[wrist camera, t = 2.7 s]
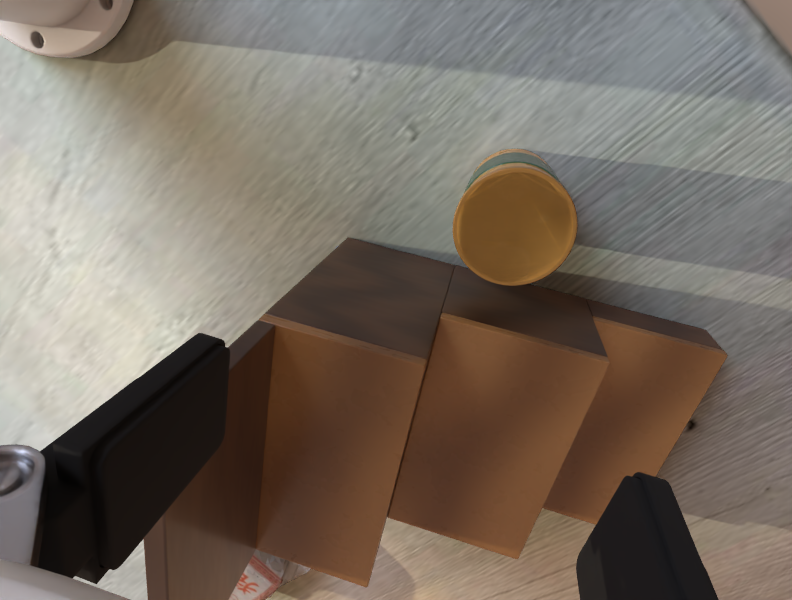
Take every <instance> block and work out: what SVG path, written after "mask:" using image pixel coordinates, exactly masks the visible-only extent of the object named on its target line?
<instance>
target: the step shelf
mask: <svg viewBox="0 0 792 600" xmlns="http://www.w3.org/2000/svg"><path fill="white" fill-rule="evenodd" d="M228 348H229V350H230V365H229V380H228V396H227V412H226V428H225V436H224V439H223V441H222V443H221V445H220V447H219V448H218V449H217V451H216V452H215V453H214V454H213V455H212V457H211V458H210V459H209V460H208V461H207V463H206V464H205V465H204V466H203V467H202V469H201V470H200V471H199V472H198V473H197V475H196V476H195V477H194V478H193V479H192V481H191V482H190V483H189V484H188V486H187V487H186V488H185V489H184V490H183V492H182V493H181V494H180V495H179V496H178V498H177V499H176V500H175V501H174V502H173V504H172V505H171V506H170V507H169V508H168V510H167V511H166V512H165V513H164V514H163V516H162V517H161V518H160V519H159V520H158V522H157V523H156V524H155V525H154V526H153V528H152V529H151V530H150V531H149V532H148V534H147V535H146V536H145V537H144V550H145V565H146V579H147V593H148V600H229V598H230V596H231V594H232V592H233V591H234V589H235V587H236V585H237V583H238V582H239V580H240V578H241V576H242V574H243V572H244V571H245V569H246V567H247V565H248V563H249V561H250V560H251V558H252V556H253V554H254V552H255V550H259V551H262V552H265V553H268V554H271V555H273V556H276V557H279V558H282V559H285V560H288V561H291V562H294V563H297V564H300V565H303V566H305V567H308V568H311V569H314V570H317V571H320V572H323V573H326V574H329V575H332V576H335V577H338V578H340V579H343V580H346V581H349V582H352V583H355V584H358V585H361V586H364V587H367V586H368V584H369V580H370V576H371V573H372V569H373V566H374V562H375V558H376V555H377V551H378V548H379V544H380V541H381V537H382V533H383V530H384V526H385V523H386V519H387V516H388V518H391V519H394V520H397V521H401V522H404V523H407V524H410V525H413V526H416V527H419V528H422V529H425V530H428V531H431V532H434V533H438V534H441V535H444V536H447V537H450V538H453V539H456V540H459V541H462V542H465V543H468V544H471V545H475V546H478V547H481V548H484V549H487V550H490V551H493V552H496V553H499V554H502V555H505V556H508V557H512V558H515V559H518V558H519V556H520V554H521V551H522V549H523V547H524V545H525V543H526V541H527V539H528V537H529V534H530V532H531V530H532V528H533V526H534V524H535V522H536V520H537V517H538V515H539V513H540V511H541V509H542V508H544V509H547V510H551V511H554V512H557V513H560V514H564V515H567V516H570V517H573V518H576V519H580V520H583V521H586V522H589V523H593V524H597V523H598V521H599V519H600V517H601V516H602V514H603V512H604V511H605V509H606V507H607V505H608V504H609V502H610V500H611V499H612V497H613V495H614V493H615V492H616V490H617V488H618V487H619V485H620V483H621V481H622V480H623V478H624V477H625V476H633V475H634V474H635V473H636V472H641V473H645V474H648V475H651V476H654V477H655V476H656V475H657V473H658V471H659V470H660V468H661V466H662V465H663V463H664V461H665V460H666V458H667V456H668V455H669V453H670V451H671V450H672V448H673V446H674V445H675V443H676V441H677V440H678V438H679V436H680V435H681V433H682V431H683V430H684V428H685V426H686V425H687V423H688V421H689V420H690V418H691V416H692V415H693V413H694V411H695V410H696V408H697V406H698V405H699V403H700V401H701V400H702V398H703V396H704V395H705V393H706V391H707V390H708V388H709V386H710V385H711V383H712V381H713V380H714V378H715V376H716V375H717V373H718V371H719V369H720V368H721V366H722V364H723V363H724V361H725V359H726V358H727V356H728V355H727V354H726V353H725V351H724V350H722V348H721V347H720V346H719V345H718V344H717V342H716V341H715V340H714V339H713V338H712V337H711V335H710V334H709V333H708V332H707V331H706V330H704V329H700V328H696V327H693V326H689V325H685V324H681V323H677V322H673V321H669V320H665V319H662V318H658V317H654V316H650V315H646V314H642V313H638V312H634V311H631V310H627V309H623V308H619V307H615V306H611V305H607V304H603V303H599V302H596V301H592V300H588V299H585V298H581V297H577V296H573V295H569V294H565V293H561V292H558V291H554V290H550V289H546V288H542V287H538V286H534V285H530V284H525V285H516V286H509V285H501V284H496V283H493V282H490V281H487V280H485V279H483V278H481V277H480V276H478V275H476V274H475V273H474V272H473V271H472V270H470V269H468V268H464V267H460V266H457V265H452V264H449V263H445V262H441V261H437V260H433V259H429V258H425V257H421V256H417V255H414V254H410V253H406V252H402V251H398V250H394V249H390V248H386V247H383V246H379V245H375V244H371V243H367V242H363V241H359V240H355V239H351V238H347V239H346V240H345V241H344V242H342V243H341V244H340V245H339V246H338V247H337V248H336V249H335V250H334V251H333V252H332V253H330V254H329V255H328V256H327V257H326V258H325V259H324V260H323V261H322V262H321V263H319V264H318V265H317V266H316V267H315V268H314V269H313V270H312V271H311V272H310V273H309V274H307V275H306V276H305V277H304V278H303V279H302V280H301V281H300V282H299V283H298V284H297V285H295V286H294V287H293V288H292V289H291V290H290V291H289V292H288V293H287V294H286V295H284V296H283V297H282V298H281V299H280V300H279V301H278V302H277V303H276V304H275V305H274V306H272V307H271V308H270V309H269V310H268V311H267V312H266V313H265V314H264V315H263V316H262V317H261V318H259V320H258V321H256V322H255V323H254V324H253V325H252V326H251V327H250V328H249V329H248V330H247V331H245V332H244V333H243V334H242V335H241V336H240V337H239V338H238V339H237V340H236V341H235V342H233V343H232V344H231V345H230V346H229V347H228Z"/></svg>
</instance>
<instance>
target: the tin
mask: <svg viewBox="0 0 792 600" xmlns="http://www.w3.org/2000/svg"><path fill="white" fill-rule="evenodd" d="M576 234H577V213H576V209H575V206H574V203H573V201H572V199H571V197H570V195H569V194H568V192H567V191H566V189H565V188H564V187H563V186H562V185H561V183H560V182H559V180H558V178H557V177H556V175H555V174H554V172H553V170H552V169H551V168H550V167H549V166H548V164H547V163H546V162H545V161H544V160H543V159H542V158H541V157H539V156H538V155H536V154H534V153H532V152H530V151H527V150H522V149H506V150H502V151H499V152H497V153H494V154H492V155H491V156H489V157H488V158H486V159H485V160H484V161H483V162H482V163H481V164H480V165H479V166H478V167H477V169H476V170H475V172H474V174H473V176H472V177H471V179H470V181H469V183H468V185H467V187H466V190H465V192H464V195H463V196H462V198H461V200H460V202H459V204H458V206H457V209H456V212H455V215H454V220H453V238H454V243H455V246H456V249H457V252H458V254H459V255H460V257H461V259H462V260H463V262H464V263H465V264H466V265H467V267H468V268H469V269H470V270H472V271H473V272H474V273H475V274H476V275H478V276H480V277H481V278H483V279H485V280H487V281H490V282H493V283H496V284H501V285H509V286H516V285H525V284H529V283H533V282H536V281H538V280H540V279H543V278H544V277H546V276H548V275H549V274H551V273H552V272H553V271H555V270H556V269H557V268H558V267H559V266H560V265H561V264H562V263H563V262H564V261H565V259H566V258H567V256H568V255H569V253H570V252H571V249H572V247H573V245H574V242H575V239H576Z"/></svg>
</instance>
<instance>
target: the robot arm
mask: <svg viewBox="0 0 792 600" xmlns="http://www.w3.org/2000/svg"><path fill="white" fill-rule="evenodd" d="M133 2H134V0H0V35H1V36H2V37H4V38H5V39H7V40H9V41H10V42H12V43H13V44H15V45H17V46H18V47H20V48H23V49H25V50H28V51H30V52H33V53H35V54H39V55H45V56H51V57H67V58H75V57H79V56H84V55H89V54H91V53H93V52H95V51H97V50H99V49H100V48H102V47H104V46H105V45H106V44H107V43H108V42H109V41H110V40H112V39H113V38H114V37H115V36H116V35H117V33H118V32H119V30H120V29H121V27H122V26H123V24H124V23H125V21H126V19H127V17H128V15H129V12H130V9H131V7H132V4H133ZM229 365H230V350H229V348H227V347H225V343H224V341H223V340H222V339H219V338H215V337H212V336H209V335H206V334H203V333H198V334H197V335H195V336H194V337H192V338H191V339H190V340H188V341H187V342H186V343H184V344H183V345H182V346H180V347H179V348H178V349H176V350H175V351H174V352H172V353H171V354H170V355H169V356H167V357H166V358H165V359H163V360H162V361H161V362H159V363H158V364H157V365H155V366H154V367H153V368H151V369H150V370H149V371H147V372H146V373H145V374H143V375H142V376H141V377H139V378H137V379H136V380H134V381H133V382H132V383H130V384H129V385H128V386H126V387H125V388H124V389H122V390H121V391H120V392H118V393H117V394H116V395H114V396H113V397H112V398H111V399H109V400H108V401H107V402H105V403H104V404H103V405H101V406H100V407H99V408H97V409H96V410H95V411H93V412H92V413H91V414H89V415H88V416H87V417H85V418H84V419H83V420H81V421H80V422H79V423H77V424H76V425H75V426H73V427H72V428H71V429H69V430H68V431H67V432H65V433H64V434H63V435H61V436H60V437H59V438H57V439H56V440H55V441H53V442H52V443H51V444H49V445H48V446H47V447H45V448H44V449H43V450H41V451H40V452H39V451H38V450H36V449H34V448H32V447H30V446H24V445H17V444H15V445H1V446H0V600H130V599H127V598H124V597H121V596H119V595H116V594H113V593H111V592H108V591H105V590H102V589H100V588H97V587H94V586H91V585H89V584H86V583H83V582H80V581H78V580H75V579H72V578H73V577H74V576H77V577H80V578H82V579H85V580H87V581H90V582H92V583H95V584H97V583H98V582H99V581H100V579H101V578H102V577H103V576H104V575H105V573H106V572H107V571H108V570H109V569H112V570H115V569H117V568H118V567H120V566H121V565H122V564H123V562H124V561H125V560H126V559H127V558H128V556H129V555H130V554H131V553H132V552H133V550H134V549H135V548H136V547H137V546H138V544H139V543H140V542H141V541H142V540H143V538H144V537H145V536H146V535H147V534H148V532H149V531H150V530H151V529H152V528H153V526H154V525H155V524H156V523H157V522H158V520H159V519H160V518H161V517H162V516H163V514H164V513H165V512H166V511H167V510H168V508H169V507H170V506H171V505H172V504H173V502H174V501H175V500H176V499H177V498H178V496H179V495H180V494H181V493H182V492H183V490H184V489H185V488H186V487H187V486H188V484H189V483H190V482H191V481H192V479H193V478H194V477H195V476H196V475H197V473H198V472H199V471H200V470H201V469H202V467H203V466H204V465H205V464H206V463H207V461H208V460H209V459H210V458H211V457H212V455H213V454H214V453H215V452H216V451H217V449H218V448H219V447H220V445H221V443H222V441H223V439H224V436H225V428H226V412H227V396H228V380H229ZM576 572H577V579H578V587H579V594H580V600H718V597H717V595H716V593H715V590H714V588H713V585H712V583H711V580H710V578H709V576H708V573H707V571H706V569H705V567H704V565H703V564H702V561H701V559H700V556H699V554H698V552H697V549H696V547H695V544H694V542H693V539H692V537H691V535H690V532H689V530H688V527H687V525H686V522H685V520H684V518H683V515H682V513H681V510H680V508H679V505H678V503H677V501H676V498H675V496H674V493H673V491H672V488H671V486H670V484H669V483H668V482H667V481H666V480H664V479H660V478H657V477H654V476H651V475H648V474H645V473H641V472H636V473H635V474H634V475H633V476H625V477H624V478H623V480H622V481H621V483H620V485H619V487H618V488H617V490H616V492H615V493H614V495H613V497H612V499H611V500H610V502H609V504H608V505H607V507H606V509H605V511H604V512H603V514H602V516H601V517H600V519H599V521H598V523H597V524H596V526H595V528H594V529H593V531H592V533H591V534H590V536H589V538H588V540H587V541H586V543H585V545H584V546H583V548H582V550H581V552H580V553H579V556H578V559H577V565H576Z"/></svg>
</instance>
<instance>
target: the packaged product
mask: <svg viewBox="0 0 792 600" xmlns="http://www.w3.org/2000/svg"><path fill="white" fill-rule="evenodd" d="M143 539H144V538H143ZM310 569H311V568H308V567H305V566H303V565H300V564H297V563H294V562H291V561H288V560H285V559H282V558H279V557H276V556H273V555H271V554H268V553H265V552H262V551H259V550H255V552H254V554H253V556H252V558H251V560H250V561H249V563H248V565H247V567H246V569H245V571H244V572H243V574H242V576H241V578H240V580H239V582H238V583H237V585H236V587H235V589H234V591H233V592H232V594H231V596H230V598H229V600H265V599H267V598H268V597H270V596H271V595H272V594H273V593H274V592H275V591H276V589H277V588H279V587H280V586H282V585H284V584H286V583H288V582H290V581H292V580H294V579H296V578H297V577H299V576H301V575H303V574H305V573H307V572H308V571H309V570H310Z"/></svg>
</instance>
